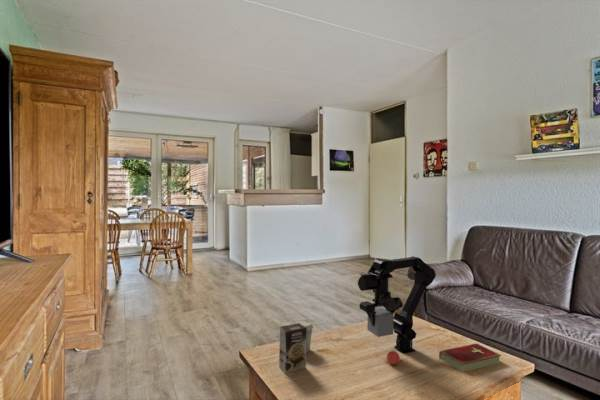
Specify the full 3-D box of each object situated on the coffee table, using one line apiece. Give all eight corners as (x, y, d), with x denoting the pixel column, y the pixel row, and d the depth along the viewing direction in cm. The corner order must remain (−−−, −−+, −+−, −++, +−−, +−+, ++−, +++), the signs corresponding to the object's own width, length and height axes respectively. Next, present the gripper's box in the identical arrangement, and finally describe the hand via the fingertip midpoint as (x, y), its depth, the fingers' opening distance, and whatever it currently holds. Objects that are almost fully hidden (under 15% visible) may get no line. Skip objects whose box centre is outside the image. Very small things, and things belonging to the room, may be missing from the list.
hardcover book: (438, 359, 141) (439, 349, 140) (475, 351, 148) (476, 342, 148) (462, 373, 129) (462, 363, 129) (500, 364, 137) (500, 354, 137)
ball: (402, 355, 134) (401, 366, 134) (395, 347, 138) (393, 358, 139) (392, 356, 132) (390, 368, 133) (385, 349, 136) (383, 360, 137)
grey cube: (381, 327, 149) (382, 307, 148) (393, 334, 142) (393, 313, 141) (367, 329, 146) (367, 309, 145) (378, 337, 139) (378, 316, 138)
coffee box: (286, 374, 127) (286, 332, 127) (278, 366, 132) (279, 326, 132) (306, 368, 131) (307, 327, 131) (298, 361, 137) (299, 322, 137)
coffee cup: (310, 355, 142) (311, 327, 142) (291, 353, 144) (291, 325, 143) (314, 346, 150) (314, 320, 150) (295, 344, 152) (295, 318, 152)
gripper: (374, 296, 132) (374, 335, 132) (411, 291, 139) (411, 328, 139) (359, 288, 142) (358, 325, 142) (394, 284, 149) (393, 319, 150)
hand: (380, 324), depth 143 cm, fingers closed on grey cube, 8 cm apart
